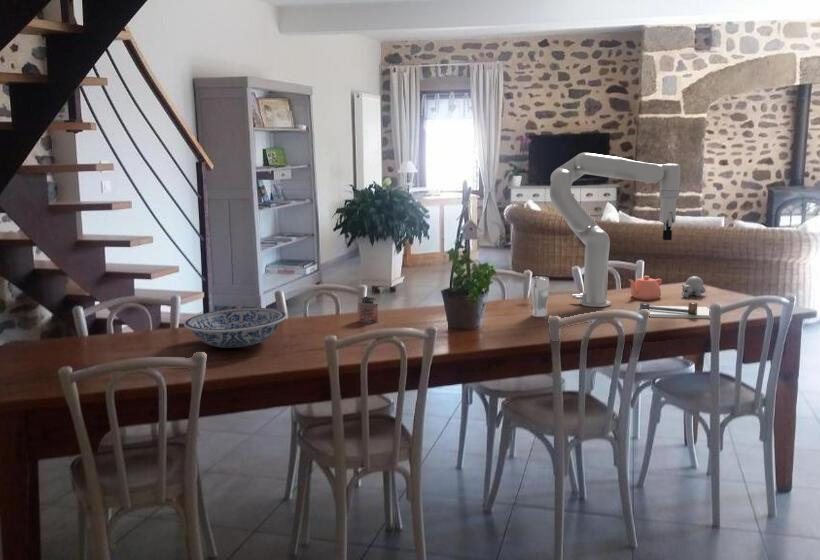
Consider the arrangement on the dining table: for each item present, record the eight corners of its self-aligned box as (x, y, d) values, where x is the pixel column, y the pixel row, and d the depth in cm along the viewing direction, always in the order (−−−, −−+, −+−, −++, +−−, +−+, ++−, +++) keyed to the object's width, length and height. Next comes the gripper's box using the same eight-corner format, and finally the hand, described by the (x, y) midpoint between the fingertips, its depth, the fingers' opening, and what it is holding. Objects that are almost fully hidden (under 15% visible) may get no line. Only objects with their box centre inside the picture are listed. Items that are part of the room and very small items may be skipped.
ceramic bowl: (224, 329, 281) (223, 303, 280) (305, 336, 269) (304, 309, 267) (163, 353, 250) (161, 324, 248) (252, 363, 238) (250, 332, 236)
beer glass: (547, 313, 300) (548, 276, 297) (549, 317, 293) (550, 279, 290) (530, 313, 300) (530, 276, 298) (531, 317, 294) (531, 279, 291)
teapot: (670, 298, 326) (671, 276, 324) (637, 302, 318) (638, 280, 317) (650, 293, 336) (651, 272, 335) (618, 297, 329) (619, 275, 327)
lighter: (357, 321, 291) (356, 296, 289) (362, 319, 294) (361, 294, 292) (375, 323, 287) (375, 297, 285) (380, 321, 290) (379, 296, 288)
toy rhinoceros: (677, 301, 330) (673, 284, 327) (695, 289, 335) (691, 272, 332) (691, 304, 324) (686, 287, 321) (709, 291, 328) (704, 274, 326)
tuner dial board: (645, 317, 290) (645, 314, 290) (639, 308, 306) (639, 305, 306) (716, 319, 286) (716, 316, 286) (706, 309, 302) (706, 306, 302)
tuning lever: (638, 309, 298) (639, 299, 297) (640, 307, 301) (641, 297, 300) (696, 314, 288) (696, 304, 287) (697, 312, 291) (698, 302, 290)
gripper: (656, 193, 312) (654, 237, 316) (662, 196, 298) (660, 242, 301) (675, 193, 311) (673, 237, 315) (682, 196, 297) (680, 242, 300)
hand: (667, 239), depth 308 cm, fingers closed
